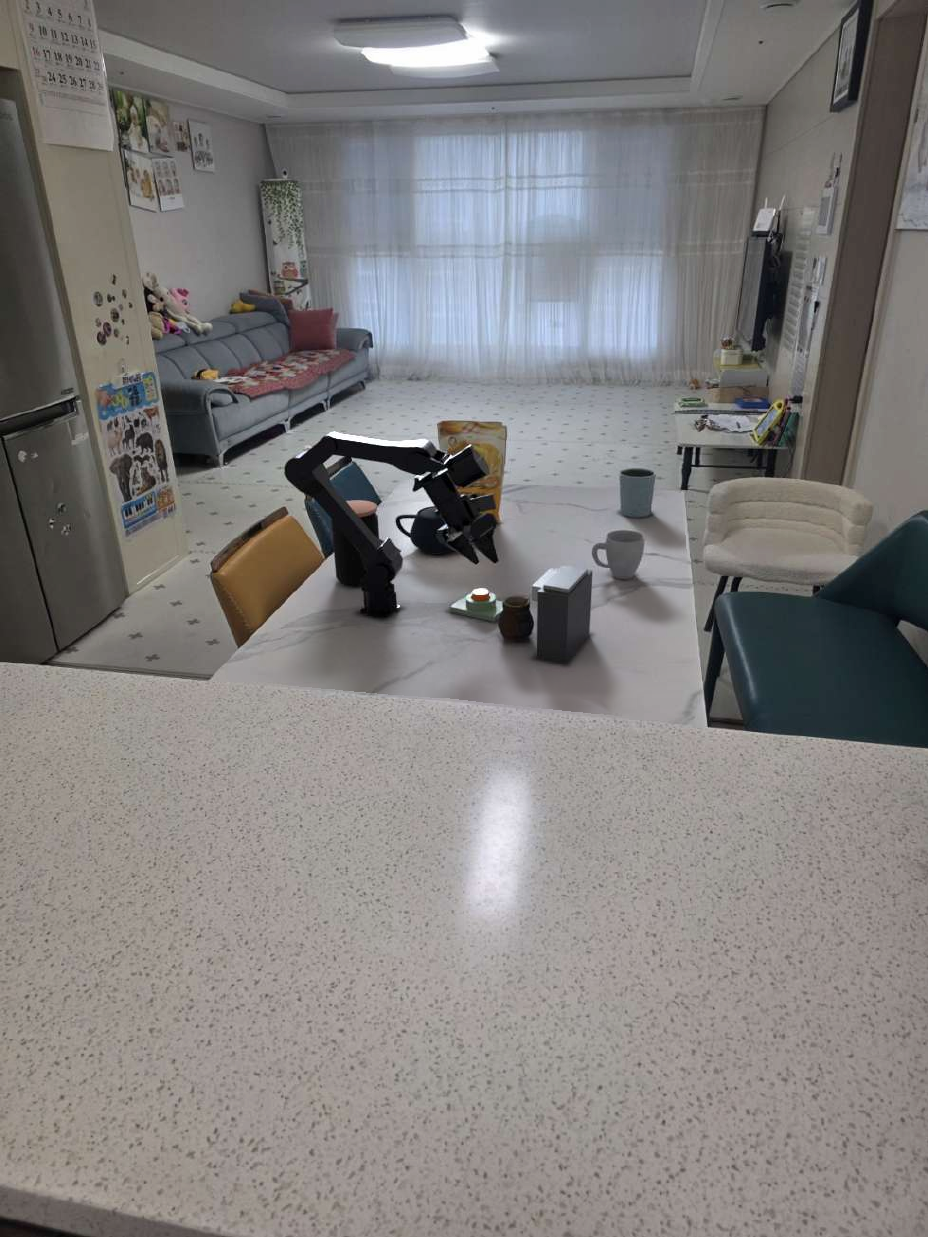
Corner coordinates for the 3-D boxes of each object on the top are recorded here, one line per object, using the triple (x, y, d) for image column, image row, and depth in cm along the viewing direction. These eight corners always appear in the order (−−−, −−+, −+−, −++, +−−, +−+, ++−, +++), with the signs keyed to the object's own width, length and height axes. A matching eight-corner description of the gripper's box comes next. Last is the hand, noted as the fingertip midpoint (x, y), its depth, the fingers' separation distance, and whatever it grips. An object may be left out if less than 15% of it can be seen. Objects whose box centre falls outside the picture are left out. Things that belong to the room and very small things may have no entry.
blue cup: (655, 518, 233) (659, 476, 228) (619, 518, 233) (622, 477, 228) (648, 507, 242) (652, 467, 237) (614, 507, 243) (616, 467, 238)
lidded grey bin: (526, 656, 159) (527, 585, 152) (552, 627, 170) (554, 560, 164) (565, 664, 155) (568, 592, 149) (589, 634, 167) (592, 566, 160)
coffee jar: (390, 575, 198) (385, 503, 190) (367, 591, 189) (361, 516, 182) (352, 569, 202) (346, 498, 194) (327, 584, 193) (320, 510, 186)
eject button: (469, 600, 177) (469, 592, 176) (477, 594, 180) (477, 587, 179) (483, 603, 175) (483, 596, 175) (492, 597, 178) (492, 590, 177)
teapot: (389, 556, 209) (387, 510, 204) (403, 536, 223) (401, 492, 218) (487, 560, 205) (486, 513, 200) (495, 539, 219) (495, 495, 214)
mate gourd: (514, 626, 171) (515, 581, 167) (542, 637, 166) (543, 591, 162) (490, 637, 166) (490, 591, 162) (518, 649, 162) (519, 602, 157)
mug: (638, 567, 199) (641, 529, 195) (644, 581, 191) (647, 542, 187) (588, 568, 200) (590, 530, 196) (592, 581, 192) (594, 542, 188)
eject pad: (449, 611, 178) (449, 598, 177) (468, 598, 184) (468, 586, 183) (494, 622, 173) (493, 609, 172) (512, 608, 179) (512, 595, 178)
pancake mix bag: (442, 515, 239) (439, 418, 228) (507, 518, 235) (507, 420, 224) (436, 522, 233) (433, 423, 222) (503, 526, 230) (503, 425, 218)
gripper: (496, 471, 159) (537, 539, 163) (459, 482, 176) (496, 543, 180) (453, 503, 156) (495, 571, 160) (418, 510, 173) (458, 572, 177)
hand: (487, 563), depth 169 cm, fingers open, 9 cm apart
